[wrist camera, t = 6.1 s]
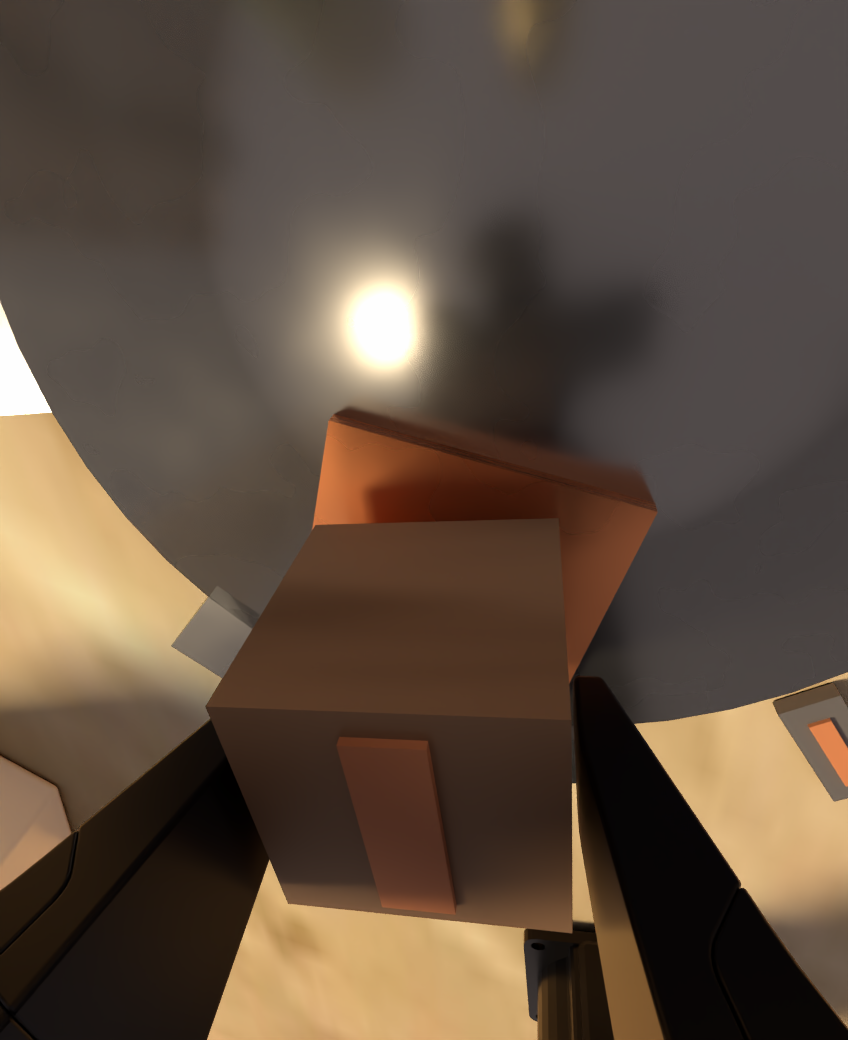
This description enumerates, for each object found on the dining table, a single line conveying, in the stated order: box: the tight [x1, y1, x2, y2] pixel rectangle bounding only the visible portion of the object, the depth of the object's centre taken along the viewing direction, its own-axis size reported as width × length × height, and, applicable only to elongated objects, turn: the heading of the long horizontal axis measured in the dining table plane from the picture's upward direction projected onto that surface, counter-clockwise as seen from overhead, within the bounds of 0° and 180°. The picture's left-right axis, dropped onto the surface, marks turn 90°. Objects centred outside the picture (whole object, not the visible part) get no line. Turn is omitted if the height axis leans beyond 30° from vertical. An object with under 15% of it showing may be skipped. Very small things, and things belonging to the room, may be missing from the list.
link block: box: [205, 518, 572, 933], centre depth 9 cm, size 4×4×4 cm
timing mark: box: [773, 683, 848, 801], centre depth 15 cm, size 4×1×1 cm, turn 38°
